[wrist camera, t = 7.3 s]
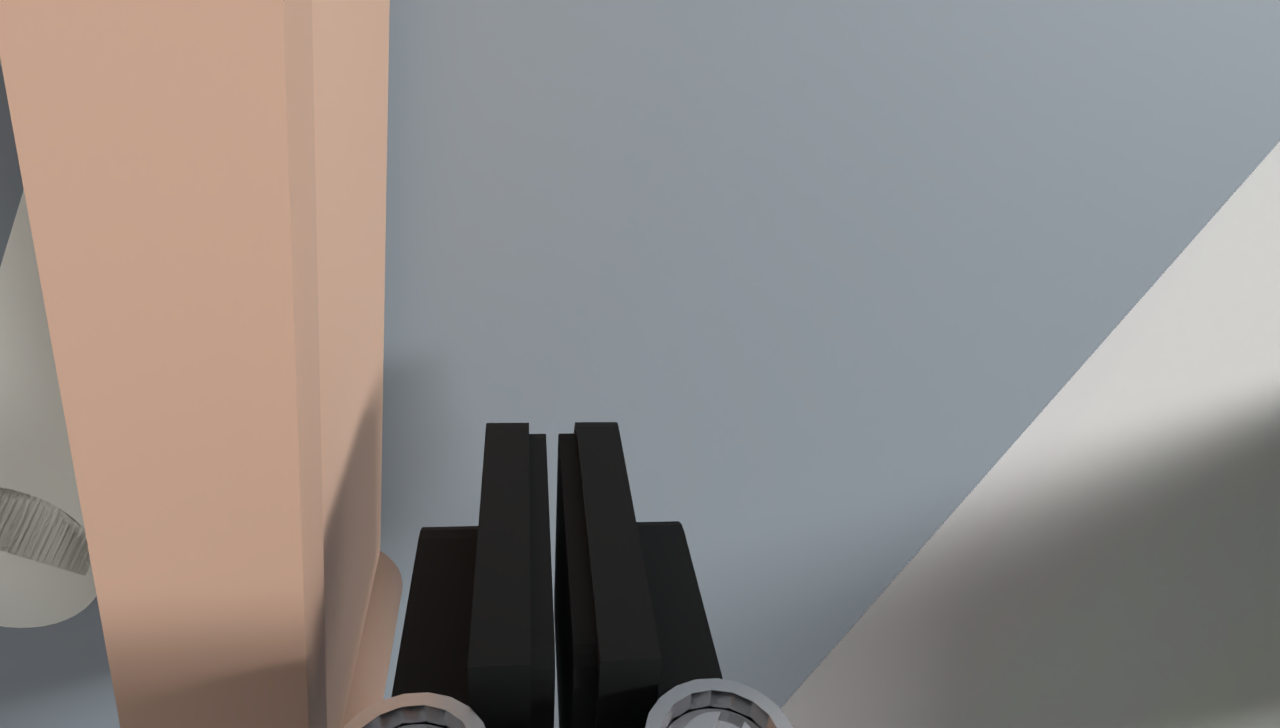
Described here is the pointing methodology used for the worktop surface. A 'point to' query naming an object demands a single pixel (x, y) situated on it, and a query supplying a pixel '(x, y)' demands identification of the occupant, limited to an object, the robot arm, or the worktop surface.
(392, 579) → the fence gate
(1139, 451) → the worktop surface
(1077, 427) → the worktop surface
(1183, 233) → the card
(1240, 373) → the worktop surface
